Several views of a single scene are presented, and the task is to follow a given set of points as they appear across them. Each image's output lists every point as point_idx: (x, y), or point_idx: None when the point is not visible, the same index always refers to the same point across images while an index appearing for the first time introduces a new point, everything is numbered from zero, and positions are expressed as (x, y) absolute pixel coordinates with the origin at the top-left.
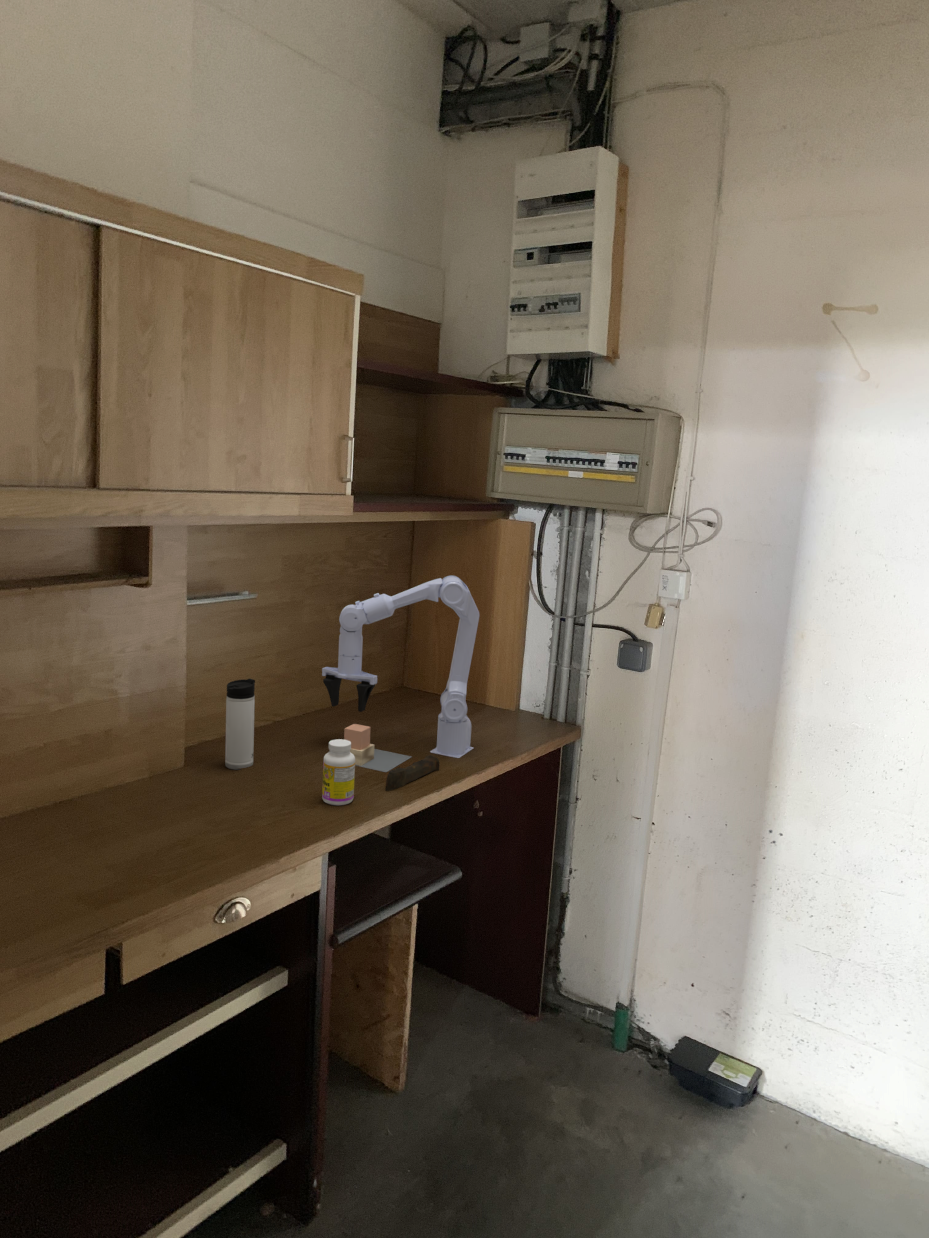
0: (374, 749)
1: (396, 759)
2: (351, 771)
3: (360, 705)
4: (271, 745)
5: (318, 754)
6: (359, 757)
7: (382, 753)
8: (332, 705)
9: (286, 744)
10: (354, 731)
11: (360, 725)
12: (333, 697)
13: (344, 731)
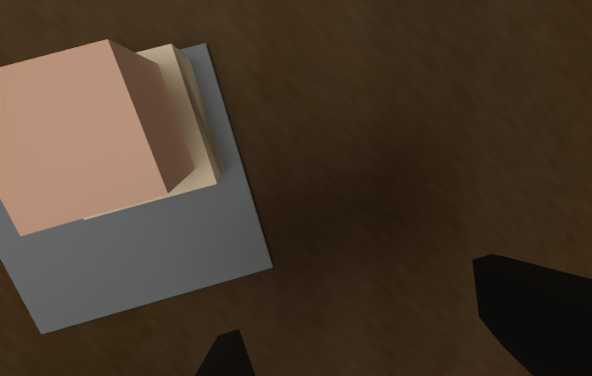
0: (209, 277)
1: (50, 264)
2: None
3: (196, 373)
4: (550, 2)
5: (334, 73)
6: None
7: (148, 269)
8: (488, 257)
9: (512, 62)
10: (15, 66)
11: (99, 201)
12: (545, 300)
13: (119, 45)
